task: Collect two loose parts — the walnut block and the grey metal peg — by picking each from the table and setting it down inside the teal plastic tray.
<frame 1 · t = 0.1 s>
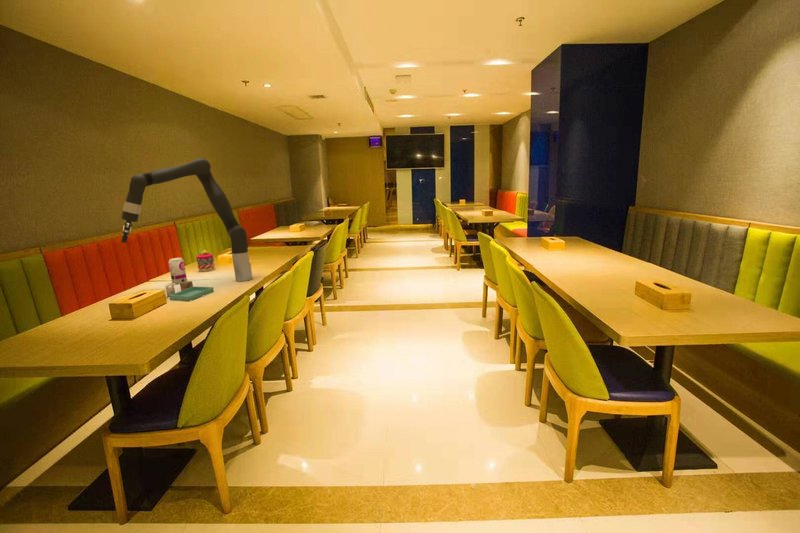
hand: (124, 241, 214), 31 cm above the table, tool tilted 20°, fingers open, 8 cm apart
cake: (206, 270, 281), on the table
supplement can: (179, 282, 251), on the table
tray: (192, 295, 221), on the table
metal peg: (171, 296, 222), on the table
walnut block: (187, 290, 232), on the table
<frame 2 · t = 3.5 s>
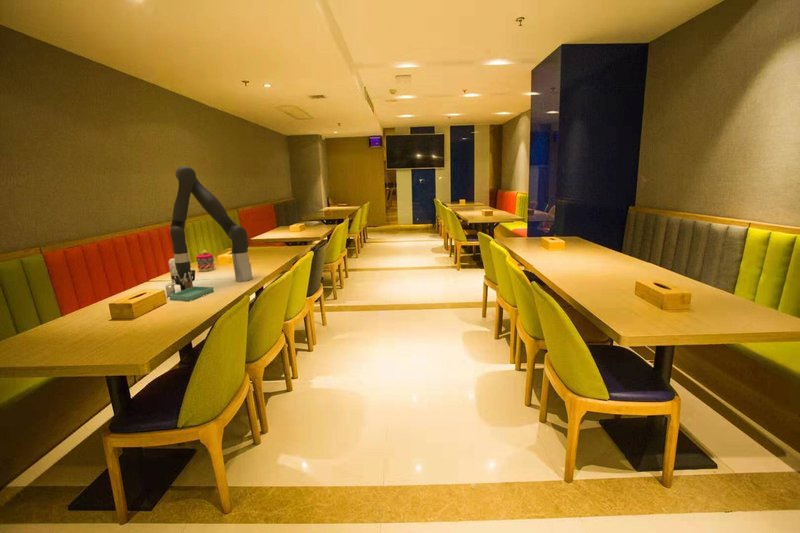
hand: (187, 289, 232), 0 cm above the table, tool pointing down, fingers closed on walnut block, 4 cm apart
walnut block: (187, 290, 232), on the table, touching gripper
everything else where it was.
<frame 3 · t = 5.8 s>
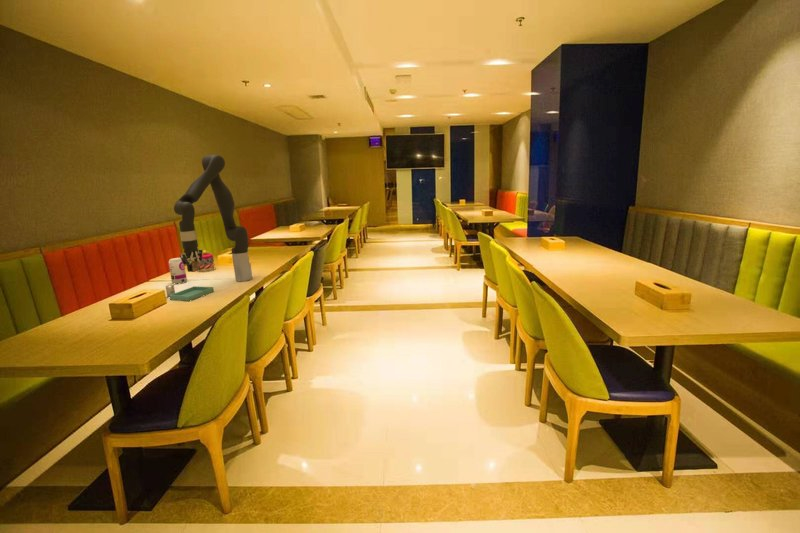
hand: (194, 270, 222), 13 cm above the table, tool pointing down, fingers closed on walnut block, 4 cm apart
walnut block: (194, 270, 222), point 13 cm above the table, touching gripper
everything else where it was.
when the fingers open (3 cm above the table, at t = 8.0 s): walnut block drops 2 cm, resting on tray.
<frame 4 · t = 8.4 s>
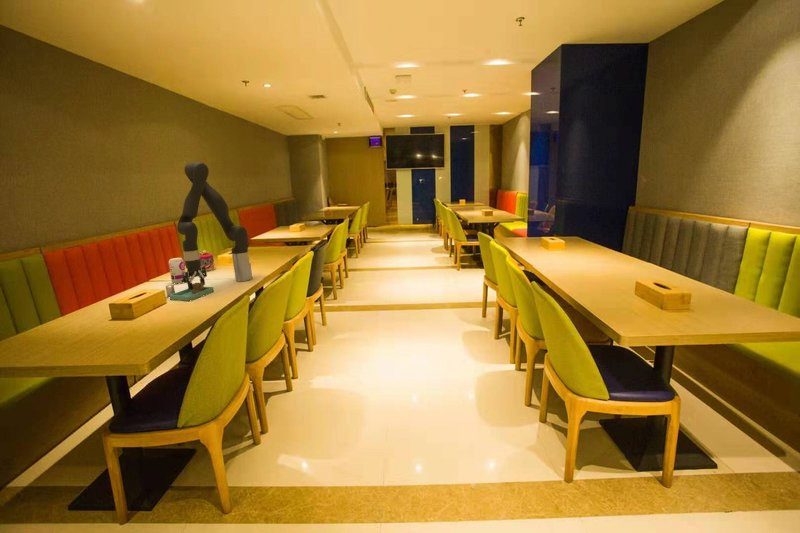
hand: (197, 287, 224), 4 cm above the table, tool pointing down, fingers open, 8 cm apart
walnut block: (198, 292, 225), point 1 cm above the table, touching tray
everything else where it was.
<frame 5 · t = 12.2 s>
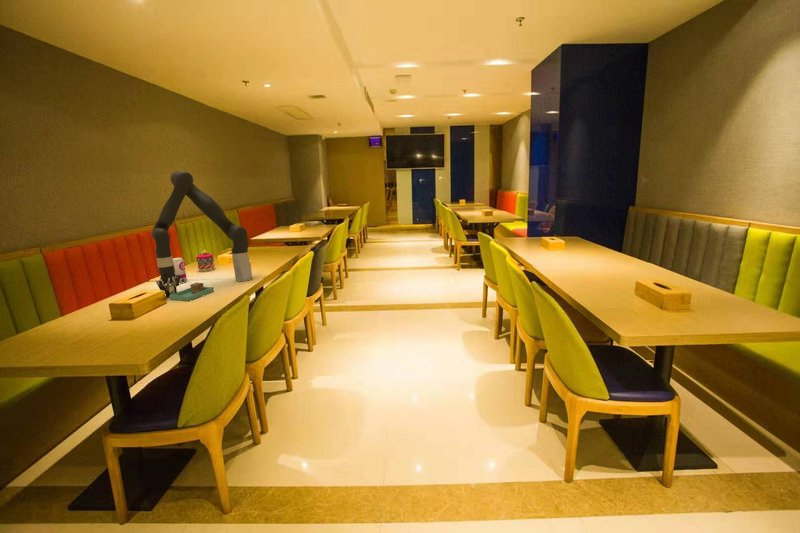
hand: (171, 295, 222), 0 cm above the table, tool pointing down, fingers closed on metal peg, 4 cm apart
metal peg: (171, 296, 222), on the table, touching gripper
everything else where it was.
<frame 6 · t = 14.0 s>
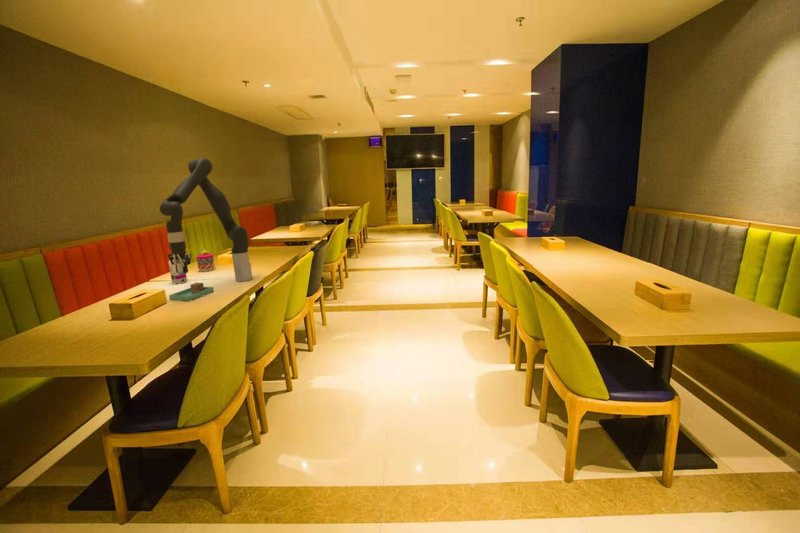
hand: (182, 272, 214), 14 cm above the table, tool pointing down, fingers closed on metal peg, 4 cm apart
metal peg: (182, 273, 214), point 14 cm above the table, touching gripper
everything else where it was.
when the fingers open (3 cm above the table, at t = 16.3 s): metal peg drops 2 cm, resting on tray.
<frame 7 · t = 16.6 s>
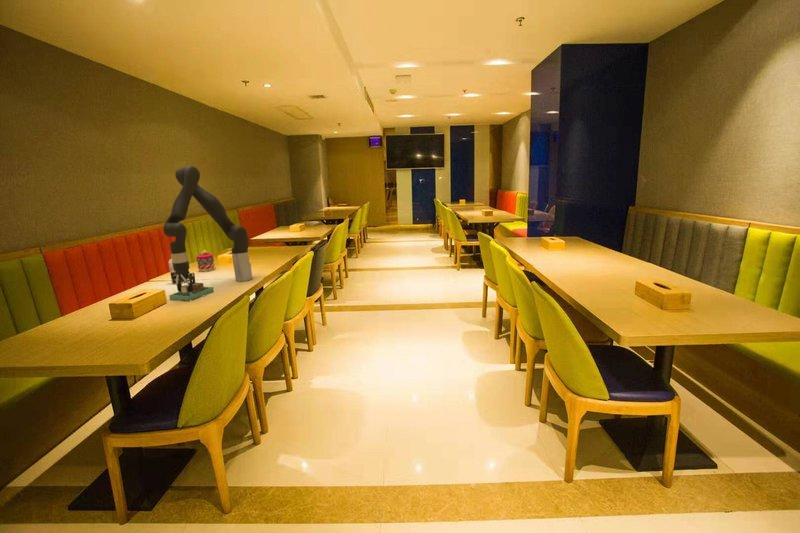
hand: (185, 291, 216), 4 cm above the table, tool pointing down, fingers open, 6 cm apart
metal peg: (186, 296, 217), point 1 cm above the table, touching tray
everything else where it was.
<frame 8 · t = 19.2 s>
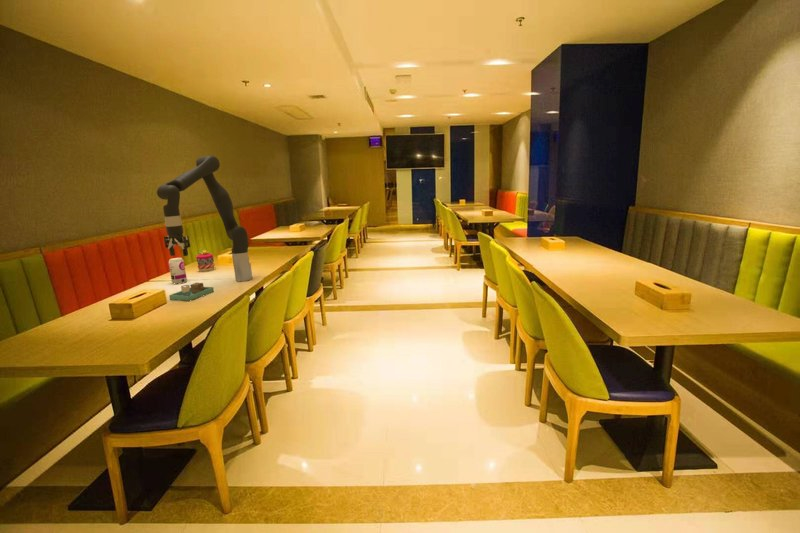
hand: (179, 255, 212), 23 cm above the table, tool pointing down, fingers open, 8 cm apart
nothing on the table moved.
at the end: walnut block inside the target area on the tray (4.2 cm from its centre), point 0.6 cm above the tray's base; metal peg inside the target area on the tray (3.9 cm from its centre), point 0.7 cm above the tray's base; the gripper is holding nothing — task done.
